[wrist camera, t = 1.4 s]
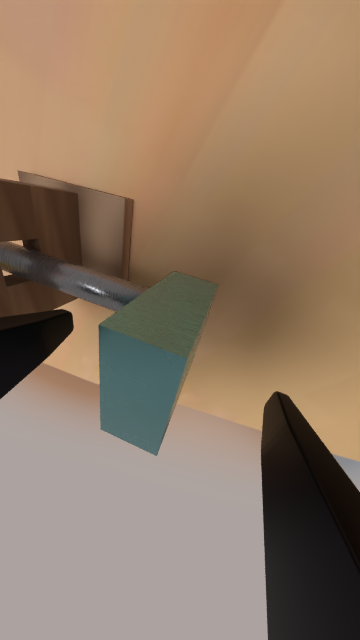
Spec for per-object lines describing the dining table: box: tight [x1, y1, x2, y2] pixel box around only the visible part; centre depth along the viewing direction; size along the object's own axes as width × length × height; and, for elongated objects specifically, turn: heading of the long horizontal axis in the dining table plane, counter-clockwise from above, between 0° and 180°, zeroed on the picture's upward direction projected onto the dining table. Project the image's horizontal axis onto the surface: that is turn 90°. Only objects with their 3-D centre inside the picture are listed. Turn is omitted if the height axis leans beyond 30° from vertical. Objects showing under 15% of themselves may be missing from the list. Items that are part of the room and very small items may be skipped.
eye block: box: [0, 171, 133, 317], centre depth 14 cm, size 10×10×10 cm
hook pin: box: [0, 241, 218, 456], centre depth 10 cm, size 18×5×7 cm, turn 77°
